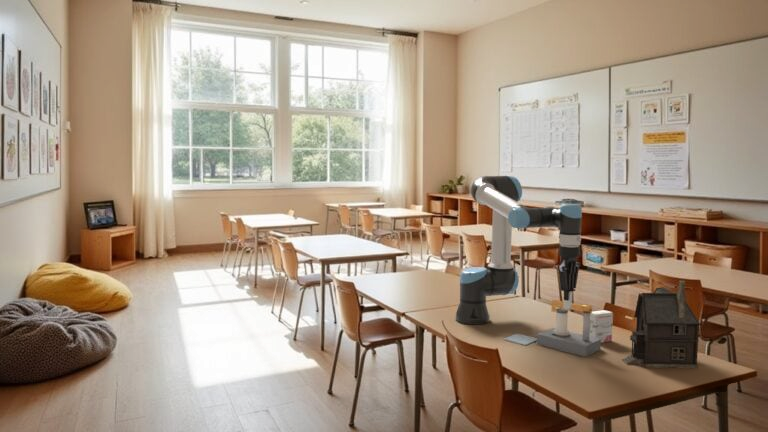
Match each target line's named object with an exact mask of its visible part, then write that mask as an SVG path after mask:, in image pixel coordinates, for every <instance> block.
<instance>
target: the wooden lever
mask: <svg viewBox="0 0 768 432" xmlns="http://www.w3.org/2000/svg"><path fill="white" fill-rule="evenodd" d="M557 307H558V308H563V300H557V299H552V300H551V313H552V312H553V313H555V312H556V309H557ZM571 310H572V311H577V312H581V313H582V314H583V313H592V312H593V305H591V304H578V303H574V302H572V309H571Z"/></svg>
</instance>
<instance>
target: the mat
mask: <svg viewBox="0 0 768 432" xmlns="http://www.w3.org/2000/svg"><path fill="white" fill-rule="evenodd" d="M503 341H506V342H507V341H508V342H510V343H515V344H518V345H522V346H528V345H531V344H532V343H536V342H537V337H536V338H535V337H532V336H528V335H524V334H520V333H516V334H513V335H509V336H507V337H504V338H503Z"/></svg>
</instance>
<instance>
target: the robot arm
mask: <svg viewBox="0 0 768 432" xmlns="http://www.w3.org/2000/svg"><path fill="white" fill-rule="evenodd" d="M470 187H471V188H470V195H471V197H472V199H473V200H474V202H476V203H478V204H479V205H481V206H487V207H489V208H490V209H492V222H491V223H492V225H491V226H492V229H491V257H490V259H491V260H490V262H489V263H488V264H487V268H486V267H482V266H477V267H476V266H473V267H466V268H464V269H463V270H461V272H460V274H459V275H460V276H459V305H458V307H457V309H456V313H455V321H457V322H458V323H463V324H465V325H466V324H467V325H483V324H487V323H489V322H490V320H491V319H490V317H491V316H490V314H489V309H488V306H487V297H494V296H506V295H511V294H513V293H515V292H516V291H517V289H518V287H519V281H520V279H519V275H518V274H519V273H518V271H517V270H516V269H515V266H514V265H513V264H512V262H511V258H512V257H511V256H512V255H511V254H512V231H513V229H532V228H533V229H534V228H535V229H536V228H558V229H559V236H558V237H559V239H558V241H559V242H558V244H559V246H558V256H560V257H561V264H560V265H557V271H558V277H559V289H560V291H561V292H563V300H562V301H563V308H564V309H568V310H572V303H573V292H576V289H577V282H578V277H579V271H580V270H579V269H580V267H581V262H577V261H578V258H579V257H581V246H580V245H581V241H582V235H581V234H582V222H583V221H582V218H583V213H582V206H581V204H579V203H561V205H560V207H555V206H544V207H527V206H525V205H523V204H521V203H520V202H519V201H520V200H521V199H522V196H523V188H522V185H521V182H520V181H519V180H518V178H517V177H515V176H511V175H484V176H480V177H478V178H476V179H475V180H474V181H473V182H472V184H471V186H470Z"/></svg>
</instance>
